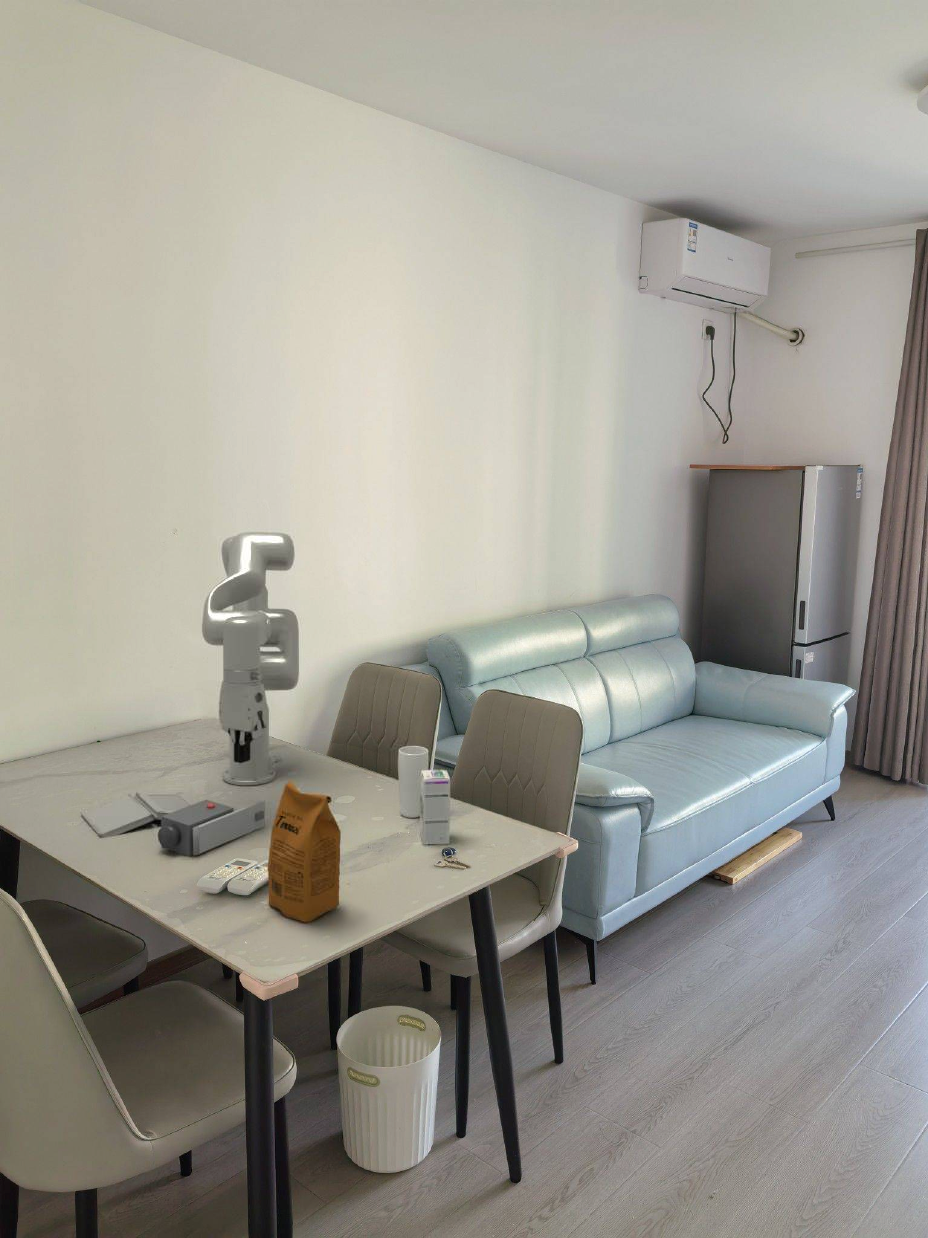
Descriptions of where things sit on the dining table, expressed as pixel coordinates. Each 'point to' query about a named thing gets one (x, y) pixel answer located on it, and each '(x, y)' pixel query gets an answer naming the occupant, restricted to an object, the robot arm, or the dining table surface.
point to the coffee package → (304, 856)
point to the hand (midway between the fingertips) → (242, 761)
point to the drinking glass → (411, 778)
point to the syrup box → (435, 807)
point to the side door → (228, 827)
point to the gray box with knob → (188, 824)
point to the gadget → (133, 811)
